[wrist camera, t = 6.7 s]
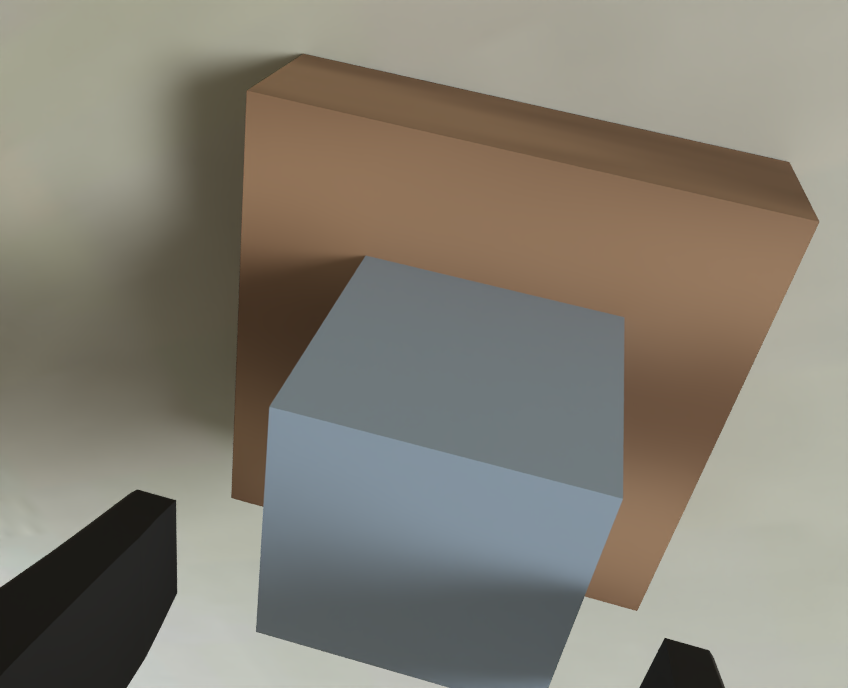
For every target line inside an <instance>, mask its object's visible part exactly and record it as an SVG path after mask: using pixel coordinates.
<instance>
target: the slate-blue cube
mask: <svg viewBox="0 0 848 688" xmlns="http://www.w3.org/2000/svg"><path fill="white" fill-rule="evenodd" d="M623 439H624V317H621V316H617V315H613V314H608V313H604V312H600V311H596V310H592V309H587V308H583V307H579V306H575V305H571V304H567V303H562V302H558V301H554V300H550V299H546V298H541V297H537V296H533V295H529V294H525V293H521V292H516V291H512V290H508V289H504V288H500V287H495V286H491V285H487V284H483V283H479V282H474V281H470V280H466V279H462V278H458V277H454V276H449V275H445V274H441V273H437V272H433V271H428V270H424V269H420V268H416V267H412V266H408V265H403V264H399V263H395V262H391V261H387V260H382V259H378V258H374V257H370V256H365V257H364V259H363V260H362V262H361V264H360V265H359V267H358V268H357V270H356V271H355V273H354V275H353V276H352V278H351V279H350V281H349V282H348V284H347V286H346V287H345V289H344V290H343V292H342V293H341V295H340V297H339V298H338V300H337V301H336V303H335V304H334V306H333V308H332V309H331V311H330V312H329V314H328V315H327V317H326V319H325V320H324V322H323V323H322V325H321V326H320V328H319V330H318V331H317V333H316V334H315V336H314V337H313V339H312V341H311V342H310V344H309V345H308V347H307V348H306V350H305V352H304V353H303V355H302V356H301V358H300V359H299V361H298V363H297V364H296V366H295V367H294V369H293V370H292V372H291V374H290V375H289V377H288V378H287V380H286V381H285V383H284V385H283V386H282V388H281V389H280V391H279V392H278V394H277V395H276V397H275V399H274V400H273V402H272V403H271V405H270V406H269V422H268V439H267V456H266V473H265V489H264V506H263V523H262V540H261V557H260V574H259V591H258V608H257V625H256V632H259V633H262V634H266V635H269V636H273V637H276V638H280V639H283V640H286V641H290V642H293V643H297V644H300V645H304V646H307V647H311V648H314V649H318V650H321V651H325V652H328V653H331V654H335V655H338V656H342V657H345V658H349V659H352V660H356V661H359V662H363V663H366V664H370V665H373V666H376V667H380V668H383V669H387V670H390V671H394V672H397V673H401V674H404V675H408V676H411V677H415V678H418V679H421V680H425V681H428V682H432V683H435V684H439V685H442V686H446V687H449V688H548V687H549V685H550V682H551V680H552V677H553V675H554V672H555V670H556V667H557V664H558V662H559V659H560V657H561V654H562V652H563V649H564V647H565V644H566V642H567V639H568V637H569V634H570V632H571V629H572V627H573V624H574V622H575V619H576V616H577V614H578V611H579V609H580V606H581V604H582V601H583V599H584V596H585V594H586V591H587V589H588V586H589V584H590V581H591V579H592V576H593V573H594V571H595V568H596V566H597V563H598V561H599V558H600V556H601V553H602V551H603V548H604V546H605V543H606V541H607V538H608V536H609V533H610V530H611V528H612V525H613V523H614V520H615V518H616V515H617V513H618V510H619V508H620V505H621V503H622V500H623Z"/></svg>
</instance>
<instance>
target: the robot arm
mask: <svg viewBox="0 0 848 688" xmlns="http://www.w3.org/2000/svg"><path fill="white" fill-rule="evenodd" d="M176 594H177V544H176V500H173V499H169V498H166V497H162V496H158V495H155V494H151V493H148V492H144V491H141V490H136V491H134V492H132V493H130V494H129V495H127V496H126V497H125V498H123V499H122V500H121V501H119V502H118V503H117V504H115V505H114V506H113V507H111V508H110V509H109V510H107V511H106V512H105V513H103V514H102V515H101V516H99V517H98V518H97V519H95V520H94V521H93V522H91V523H90V524H89V525H87V526H86V527H85V528H83V529H82V530H81V531H79V532H78V533H77V534H75V535H74V536H72V537H71V538H70V539H68V540H67V541H66V542H64V543H63V544H61V545H60V546H59V547H57V548H56V549H55V550H53V551H52V552H50V553H49V554H48V555H46V556H45V557H43V558H42V559H41V560H39V561H38V562H36V563H35V564H33V565H32V566H30V567H29V568H28V569H26V570H25V571H23V572H22V573H20V574H19V575H18V576H16V577H15V578H13V579H12V580H10V581H9V582H8V583H6V584H5V585H3V586H2V587H0V688H127V686H128V685H129V683H130V681H131V680H132V678H133V677H134V675H135V674H136V672H137V670H138V669H139V667H140V666H141V664H142V662H143V661H144V659H145V657H146V656H147V654H148V652H149V650H150V648H151V646H152V644H153V642H154V640H155V638H156V636H157V634H158V632H159V630H160V628H161V626H162V624H163V621H164V619H165V617H166V615H167V613H168V611H169V609H170V607H171V605H172V603H173V600H174V598H175V596H176ZM640 688H725V687H724V684H723V681H722V679H721V676H720V673H719V671H718V668H717V665H716V663H715V660H714V658H713V656H712V654H711V653H710V651H709V650H706V649H702V648H699V647H695V646H692V645H688V644H685V643H681V642H677V641H674V640H670V639H667V638H665V639H664V641H663V643H662V645H661V646H660V648H659V650H658V652H657V654H656V656H655V658H654V660H653V662H652V664H651V666H650V668H649V670H648V672H647V674H646V676H645V678H644V680H643V682H642V684H641V686H640Z"/></svg>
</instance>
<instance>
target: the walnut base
mask: <svg viewBox="0 0 848 688" xmlns="http://www.w3.org/2000/svg"><path fill="white" fill-rule="evenodd" d="M818 224H819V220H818V218H817V216H816V214H815V212H814V210H813V208H812V206H811V204H810V202H809V200H808V198H807V196H806V194H805V192H804V190H803V188H802V186H801V184H800V182H799V180H798V178H797V176H796V174H795V172H794V170H793V169H792V167H791V165H790V163H789V162H786V161H781V160H777V159H772V158H768V157H763V156H759V155H754V154H750V153H746V152H741V151H737V150H732V149H728V148H723V147H719V146H714V145H710V144H705V143H701V142H696V141H692V140H687V139H683V138H678V137H674V136H669V135H665V134H660V133H656V132H651V131H647V130H642V129H638V128H634V127H629V126H625V125H620V124H616V123H611V122H607V121H602V120H598V119H593V118H589V117H584V116H580V115H575V114H571V113H566V112H562V111H557V110H553V109H548V108H544V107H539V106H535V105H531V104H526V103H522V102H517V101H513V100H508V99H504V98H499V97H495V96H490V95H486V94H481V93H477V92H472V91H468V90H463V89H459V88H454V87H450V86H445V85H441V84H436V83H432V82H427V81H423V80H419V79H414V78H410V77H405V76H401V75H396V74H392V73H387V72H383V71H378V70H374V69H369V68H365V67H360V66H356V65H351V64H347V63H342V62H338V61H333V60H329V59H324V58H320V57H316V56H311V55H307V54H302V55H301V56H299V57H298V58H296V59H295V60H293V61H291V62H290V63H288V64H287V65H285V66H284V67H282V68H281V69H279V70H278V71H276V72H275V73H273V74H271V75H270V76H268V77H267V78H265V79H264V80H262V81H261V82H259V83H258V84H256V85H254V86H253V87H251V88H250V89H248V90H247V95H246V121H245V148H244V175H243V201H242V228H241V255H240V281H239V308H238V335H237V362H236V388H235V415H234V442H233V468H232V495H231V498H234V499H237V500H241V501H244V502H248V503H251V504H255V505H259V506H262V507H263V506H264V489H265V473H266V456H267V439H268V422H269V406H270V405H271V403H272V402H273V400H274V399H275V397H276V395H277V394H278V392H279V391H280V389H281V388H282V386H283V385H284V383H285V381H286V380H287V378H288V377H289V375H290V374H291V372H292V370H293V369H294V367H295V366H296V364H297V363H298V361H299V359H300V358H301V356H302V355H303V353H304V352H305V350H306V348H307V347H308V345H309V344H310V342H311V341H312V339H313V337H314V336H315V334H316V333H317V331H318V330H319V328H320V326H321V325H322V323H323V322H324V320H325V319H326V317H327V315H328V314H329V312H330V311H331V309H332V308H333V306H334V304H335V303H336V301H337V300H338V298H339V297H340V295H341V293H342V292H343V290H344V289H345V287H346V286H347V284H348V282H349V281H350V279H351V278H352V276H353V275H354V273H355V271H356V270H357V268H358V267H359V265H360V264H361V262H362V260H363V259H364V257H365V256H370V257H374V258H378V259H382V260H387V261H391V262H395V263H399V264H403V265H408V266H412V267H416V268H420V269H424V270H428V271H433V272H437V273H441V274H445V275H449V276H454V277H458V278H462V279H466V280H470V281H474V282H479V283H483V284H487V285H491V286H495V287H500V288H504V289H508V290H512V291H516V292H521V293H525V294H529V295H533V296H537V297H541V298H546V299H550V300H554V301H558V302H562V303H567V304H571V305H575V306H579V307H583V308H587V309H592V310H596V311H600V312H604V313H608V314H613V315H617V316H621V317H624V439H623V500H622V503H621V505H620V508H619V510H618V513H617V515H616V518H615V520H614V523H613V525H612V528H611V530H610V533H609V536H608V538H607V541H606V543H605V546H604V548H603V551H602V553H601V556H600V558H599V561H598V563H597V566H596V568H595V571H594V573H593V576H592V579H591V581H590V584H589V586H588V589H587V591H586V594H585V597H589V598H593V599H596V600H600V601H603V602H607V603H611V604H614V605H618V606H621V607H625V608H629V609H632V610H636V611H637V610H638V608H639V606H640V604H641V602H642V599H643V597H644V595H645V593H646V591H647V589H648V587H649V584H650V582H651V580H652V578H653V576H654V574H655V572H656V570H657V567H658V565H659V563H660V561H661V559H662V557H663V555H664V552H665V550H666V548H667V546H668V544H669V542H670V540H671V538H672V535H673V533H674V531H675V529H676V527H677V525H678V523H679V520H680V518H681V516H682V514H683V512H684V510H685V508H686V505H687V503H688V501H689V499H690V497H691V495H692V493H693V491H694V488H695V486H696V484H697V482H698V480H699V478H700V476H701V473H702V471H703V469H704V467H705V465H706V463H707V461H708V459H709V456H710V454H711V452H712V450H713V448H714V446H715V444H716V441H717V439H718V437H719V435H720V433H721V431H722V429H723V427H724V424H725V422H726V420H727V418H728V416H729V414H730V412H731V409H732V407H733V405H734V403H735V401H736V399H737V397H738V395H739V392H740V390H741V388H742V386H743V384H744V382H745V380H746V377H747V375H748V373H749V371H750V369H751V367H752V365H753V362H754V360H755V358H756V356H757V354H758V352H759V350H760V348H761V345H762V343H763V341H764V339H765V337H766V335H767V333H768V330H769V328H770V326H771V324H772V322H773V320H774V318H775V316H776V313H777V311H778V309H779V307H780V305H781V303H782V301H783V298H784V296H785V294H786V292H787V290H788V288H789V286H790V284H791V281H792V279H793V277H794V275H795V273H796V271H797V269H798V266H799V264H800V262H801V260H802V258H803V256H804V254H805V251H806V249H807V247H808V245H809V243H810V241H811V239H812V237H813V234H814V232H815V230H816V228H817V226H818Z"/></svg>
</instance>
